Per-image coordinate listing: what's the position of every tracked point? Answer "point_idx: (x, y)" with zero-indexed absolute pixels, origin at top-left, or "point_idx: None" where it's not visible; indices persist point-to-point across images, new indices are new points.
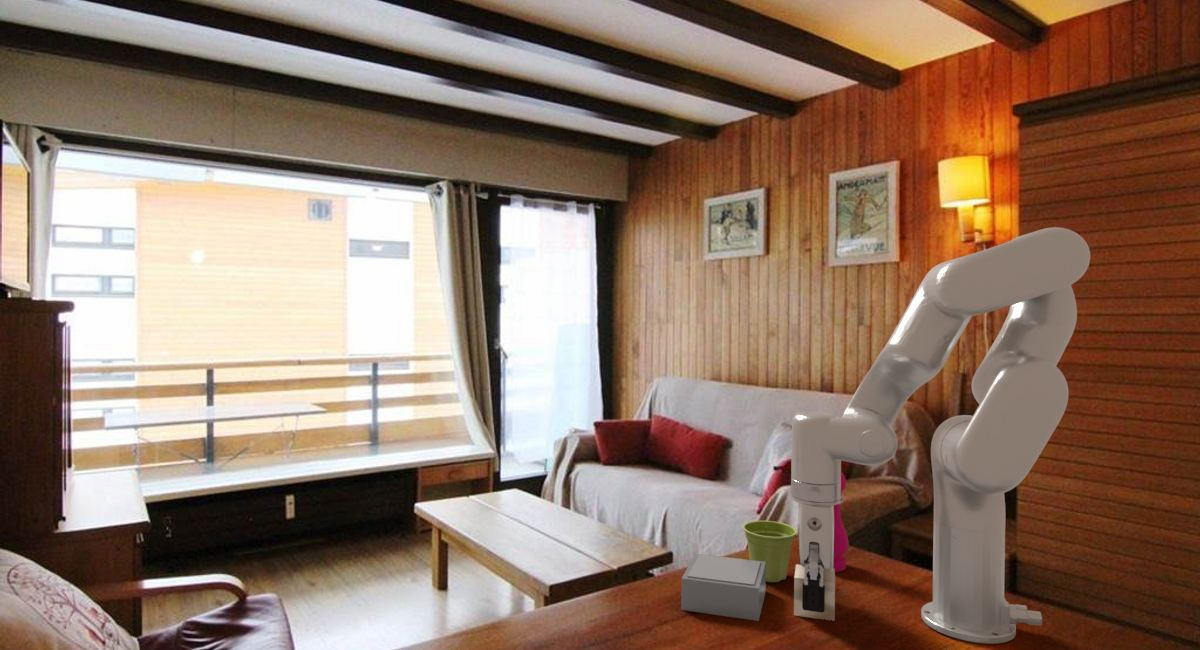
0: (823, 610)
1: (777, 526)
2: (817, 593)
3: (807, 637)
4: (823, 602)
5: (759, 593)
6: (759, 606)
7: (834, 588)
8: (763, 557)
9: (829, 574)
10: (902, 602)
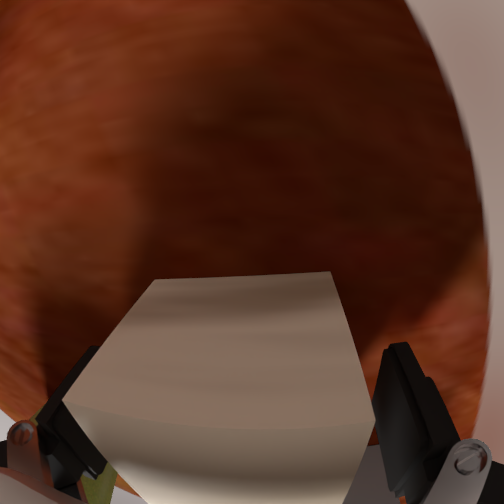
0: (407, 346)
1: None
2: (449, 427)
3: (474, 336)
4: (420, 373)
5: (381, 502)
6: (372, 471)
7: (365, 385)
8: (107, 497)
9: (196, 448)
10: (28, 44)
